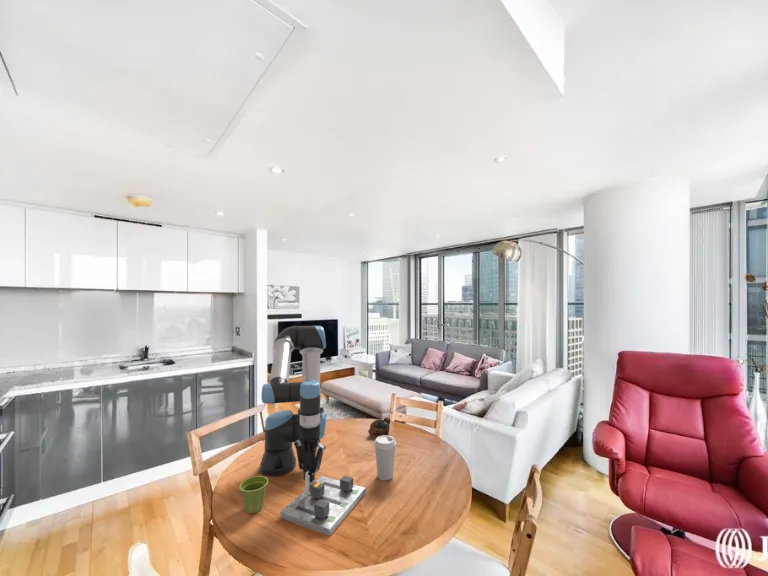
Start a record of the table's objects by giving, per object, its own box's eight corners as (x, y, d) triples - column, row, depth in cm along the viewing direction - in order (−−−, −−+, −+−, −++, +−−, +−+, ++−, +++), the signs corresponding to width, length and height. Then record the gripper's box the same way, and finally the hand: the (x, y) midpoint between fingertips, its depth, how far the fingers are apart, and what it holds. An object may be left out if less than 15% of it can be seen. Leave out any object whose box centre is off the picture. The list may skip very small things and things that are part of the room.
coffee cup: (394, 483, 125) (394, 445, 126) (371, 481, 127) (371, 443, 128) (398, 471, 135) (398, 435, 135) (376, 468, 136) (376, 433, 137)
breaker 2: (313, 515, 103) (313, 504, 103) (319, 510, 105) (319, 499, 106) (323, 518, 101) (324, 507, 101) (329, 513, 104) (329, 502, 104)
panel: (280, 517, 105) (280, 511, 105) (322, 481, 127) (322, 475, 127) (329, 535, 97) (329, 528, 97) (365, 493, 119) (365, 487, 119)
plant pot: (250, 521, 104) (250, 494, 104) (233, 511, 109) (233, 485, 109) (273, 505, 112) (273, 480, 112) (256, 497, 117) (257, 473, 117)
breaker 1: (310, 496, 113) (310, 485, 113) (315, 491, 116) (315, 480, 116) (319, 498, 111) (319, 487, 112) (324, 494, 114) (324, 483, 114)
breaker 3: (339, 489, 117) (340, 479, 117) (344, 484, 120) (344, 475, 120) (349, 491, 116) (349, 482, 116) (353, 487, 118) (353, 477, 119)
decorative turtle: (395, 432, 175) (395, 418, 175) (376, 442, 164) (376, 427, 164) (383, 426, 182) (383, 413, 182) (364, 436, 171) (364, 422, 171)
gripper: (289, 425, 116) (288, 491, 114) (318, 431, 110) (317, 500, 109) (302, 418, 122) (301, 480, 121) (330, 423, 117) (329, 489, 115)
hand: (309, 490), depth 115 cm, fingers closed
